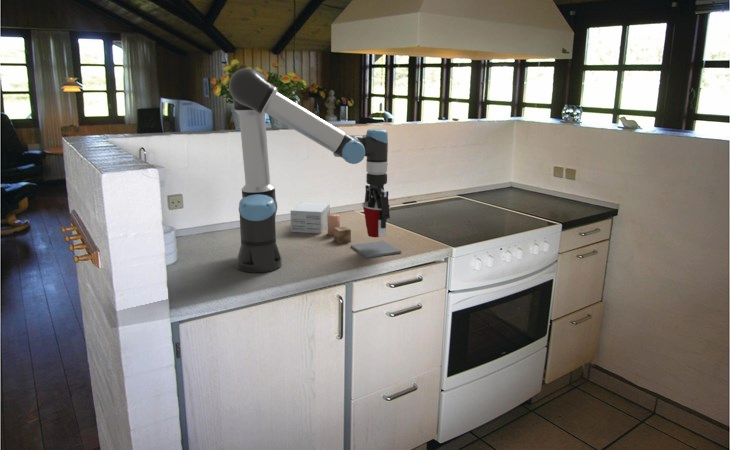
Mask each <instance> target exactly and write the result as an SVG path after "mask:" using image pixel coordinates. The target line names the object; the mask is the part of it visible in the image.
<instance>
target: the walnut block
mask: <svg viewBox="0 0 730 450" xmlns="http://www.w3.org/2000/svg"><path fill="white" fill-rule="evenodd" d="M351 237H352V229H350V228H349V227H347V226H340V227H336V228H334V236H333V240H334V241H336V242H337V243H338V244H342V243H343V244H345V243H350V242H351V241H352V238H351Z"/></svg>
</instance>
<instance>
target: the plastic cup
mask: <svg viewBox="0 0 730 450" xmlns="http://www.w3.org/2000/svg"><path fill="white" fill-rule="evenodd" d="M361 206H362V207H363V213H364V218H365V219H364V220H365V225H366V231H367V236H368V237H370V238H379V237H378V219H379V218H380V217H379V212H380V210H382V209H378V206H377V202H375V206H374V208H370V207H368V202H365V201H364V202H362V203H361ZM391 208H392V205H391V204H389V211H390V210H391ZM387 221H388V219H386V222H387Z"/></svg>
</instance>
